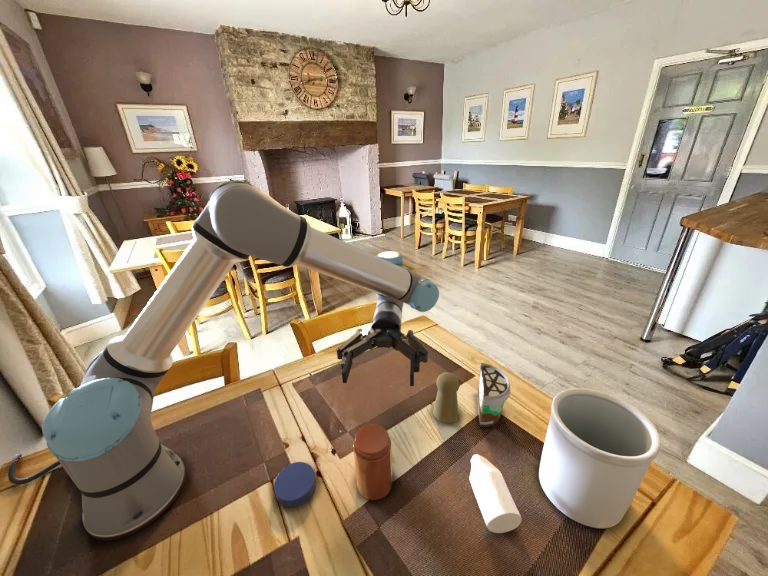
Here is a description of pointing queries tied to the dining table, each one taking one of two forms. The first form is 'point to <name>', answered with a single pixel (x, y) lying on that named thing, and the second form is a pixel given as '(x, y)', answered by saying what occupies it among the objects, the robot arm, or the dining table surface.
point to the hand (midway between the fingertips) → (377, 379)
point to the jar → (373, 461)
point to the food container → (491, 394)
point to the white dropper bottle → (493, 496)
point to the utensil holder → (595, 455)
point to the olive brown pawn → (446, 398)
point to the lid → (295, 484)
